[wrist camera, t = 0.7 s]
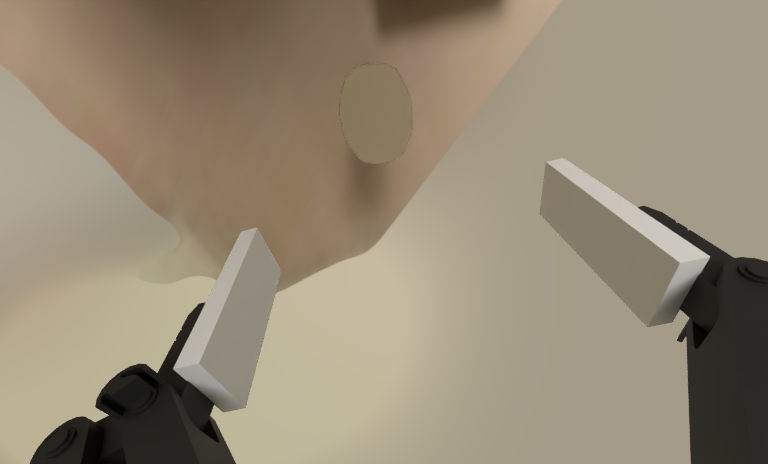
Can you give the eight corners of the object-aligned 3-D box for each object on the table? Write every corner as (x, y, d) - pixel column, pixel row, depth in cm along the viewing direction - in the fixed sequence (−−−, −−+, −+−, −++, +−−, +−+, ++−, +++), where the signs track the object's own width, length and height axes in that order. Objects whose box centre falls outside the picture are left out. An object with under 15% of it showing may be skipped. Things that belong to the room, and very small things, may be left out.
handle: (386, 45, 31) (409, 58, 19) (392, 111, 35) (415, 158, 22) (339, 52, 31) (331, 70, 19) (350, 117, 35) (349, 168, 22)
